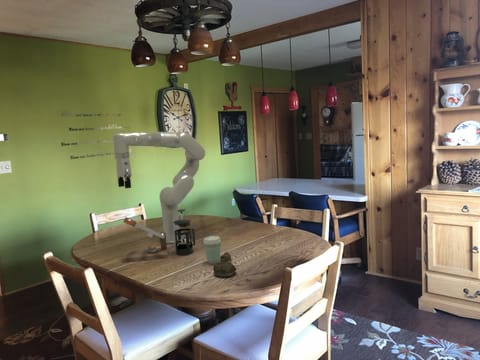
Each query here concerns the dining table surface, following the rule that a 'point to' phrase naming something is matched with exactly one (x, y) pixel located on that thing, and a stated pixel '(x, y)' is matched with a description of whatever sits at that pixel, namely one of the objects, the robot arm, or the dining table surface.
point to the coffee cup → (212, 249)
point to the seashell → (224, 266)
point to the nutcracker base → (148, 253)
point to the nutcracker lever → (144, 228)
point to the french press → (184, 244)
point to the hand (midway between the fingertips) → (124, 187)
